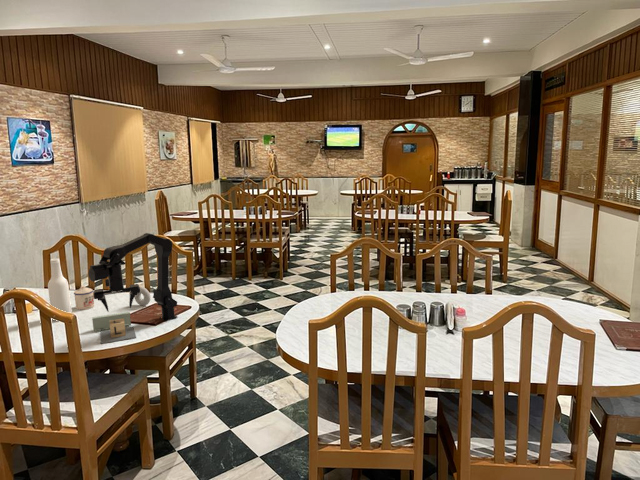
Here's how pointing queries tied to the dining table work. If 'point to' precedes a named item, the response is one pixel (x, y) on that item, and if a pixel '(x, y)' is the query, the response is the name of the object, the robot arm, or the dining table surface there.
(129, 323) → the sage screen
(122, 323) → the marked cube
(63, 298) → the white bottle
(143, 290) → the donut
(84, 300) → the teacup with lid
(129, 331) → the charcoal pad
